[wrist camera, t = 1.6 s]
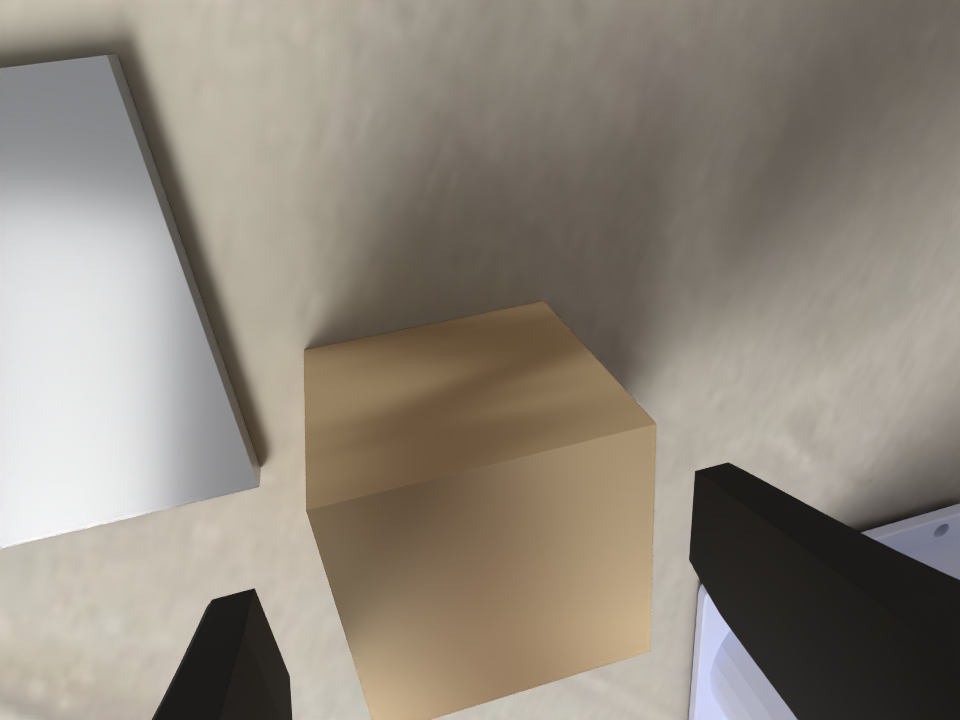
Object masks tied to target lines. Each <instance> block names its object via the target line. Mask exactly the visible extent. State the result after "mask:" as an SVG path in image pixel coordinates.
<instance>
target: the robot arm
mask: <svg viewBox="0 0 960 720" xmlns="http://www.w3.org/2000/svg"><path fill="white" fill-rule="evenodd" d="M689 560H690V562H691V564H692V566H693V568H694V570H695V571H696V573H697V575H698V577H699V579H700V580H701V582H702V585H701V586H700V589H699V592H698V605H697V618H696V631H695V644H694V657H693V670H692V683H691V696H690V709H689V720H960V504H956V505H953V506H949V507H946V508H943V509H939V510H936V511H932V512H929V513H925V514H922V515H919V516H915V517H912V518H908V519H905V520H902V521H898V522H895V523H891V524H888V525H885V526H881V527H878V528H874V529H871V530H868V531H864V532H861V533H860V532H858V531H856V530H855V529H853V528H851V527H849V526H847V525H845V524H843V523H841V522H839V521H837V520H835V519H833V518H832V517H830V516H828V515H826V514H824V513H822V512H820V511H818V510H817V509H815V508H813V507H811V506H809V505H807V504H805V503H804V502H802V501H800V500H798V499H796V498H794V497H792V496H791V495H789V494H787V493H785V492H783V491H781V490H780V489H778V488H776V487H774V486H772V485H770V484H769V483H767V482H765V481H763V480H761V479H759V478H757V477H756V476H754V475H752V474H750V473H748V472H746V471H744V470H742V469H740V468H738V467H736V466H734V465H732V464H730V463H724V464H720V465H717V466H713V467H709V468H705V469H702V470H698V471H695V482H694V497H693V511H692V526H691V541H690V555H689ZM152 720H292V707H291V691H290V676H289V673H288V671H287V668H286V666H285V663H284V661H283V658H282V656H281V653H280V651H279V648H278V646H277V643H276V641H275V638H274V636H273V633H272V631H271V628H270V626H269V623H268V621H267V618H266V616H265V613H264V611H263V608H262V606H261V603H260V601H259V598H258V596H257V593H256V591H255V588H254V589H250V590H247V591H243V592H239V593H235V594H232V595H228V596H224V597H220V598H217V599H213V600H212V601H211V602H210V604H209V605H208V606H207V608H206V610H205V612H204V614H203V616H202V619H201V621H200V623H199V625H198V627H197V629H196V632H195V634H194V636H193V638H192V640H191V642H190V644H189V646H188V649H187V651H186V653H185V655H184V657H183V659H182V661H181V663H180V665H179V667H178V669H177V671H176V673H175V675H174V677H173V679H172V681H171V683H170V685H169V687H168V689H167V691H166V693H165V695H164V697H163V699H162V701H161V703H160V705H159V707H158V709H157V711H156V713H155V714H154V716H153V718H152Z"/></svg>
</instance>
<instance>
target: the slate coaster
mask: <svg viewBox="0 0 960 720" xmlns="http://www.w3.org/2000/svg"><path fill="white" fill-rule="evenodd" d="M260 473H261V469H260V466H259V463H258V460H257V457H256V454H255V451H254V449H253V446H252V443H251V440H250V437H249V434H248V431H247V428H246V425H245V423H244V420H243V417H242V414H241V411H240V408H239V405H238V402H237V399H236V397H235V394H234V391H233V388H232V385H231V382H230V379H229V376H228V373H227V371H226V368H225V365H224V362H223V359H222V356H221V353H220V350H219V347H218V344H217V342H216V339H215V336H214V333H213V330H212V327H211V324H210V321H209V318H208V316H207V313H206V310H205V307H204V304H203V301H202V298H201V295H200V292H199V290H198V287H197V284H196V281H195V278H194V275H193V272H192V269H191V266H190V264H189V261H188V258H187V255H186V252H185V249H184V246H183V243H182V240H181V237H180V235H179V232H178V229H177V226H176V223H175V220H174V217H173V214H172V211H171V209H170V206H169V203H168V200H167V197H166V194H165V191H164V188H163V185H162V183H161V180H160V177H159V174H158V171H157V168H156V165H155V162H154V159H153V157H152V154H151V151H150V148H149V145H148V142H147V139H146V136H145V133H144V130H143V128H142V125H141V122H140V119H139V116H138V113H137V110H136V107H135V104H134V102H133V99H132V96H131V93H130V90H129V87H128V84H127V81H126V78H125V76H124V73H123V70H122V67H121V64H120V61H119V58H118V55H117V54H110V55H102V56H94V57H86V58H78V59H70V60H62V61H54V62H46V63H38V64H30V65H22V66H14V67H6V68H0V549H1V548H5V547H9V546H13V545H17V544H22V543H26V542H30V541H34V540H38V539H43V538H47V537H51V536H55V535H59V534H64V533H68V532H72V531H76V530H80V529H85V528H89V527H93V526H97V525H102V524H106V523H110V522H114V521H118V520H123V519H127V518H131V517H135V516H139V515H144V514H148V513H152V512H156V511H160V510H165V509H169V508H173V507H177V506H181V505H186V504H190V503H194V502H198V501H202V500H207V499H211V498H215V497H219V496H223V495H228V494H232V493H236V492H240V491H244V490H249V489H253V488H257V487H259V484H260Z"/></svg>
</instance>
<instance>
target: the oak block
mask: <svg viewBox="0 0 960 720" xmlns="http://www.w3.org/2000/svg"><path fill="white" fill-rule="evenodd" d="M304 392H305V460H306V511H307V514H308V518H309V521H310V524H311V527H312V530H313V534H314V537H315V540H316V543H317V546H318V549H319V553H320V556H321V559H322V562H323V565H324V569H325V572H326V575H327V578H328V581H329V585H330V588H331V591H332V594H333V597H334V601H335V604H336V607H337V610H338V613H339V616H340V620H341V623H342V626H343V629H344V632H345V636H346V639H347V642H348V645H349V648H350V652H351V655H352V658H353V661H354V664H355V668H356V671H357V674H358V677H359V680H360V684H361V687H362V690H363V693H364V696H365V699H366V703H367V706H368V709H369V712H370V715H371V719H372V720H431V719H434V718H438V717H441V716H444V715H447V714H451V713H454V712H457V711H460V710H463V709H467V708H470V707H473V706H476V705H479V704H483V703H486V702H489V701H492V700H496V699H499V698H502V697H505V696H508V695H512V694H515V693H518V692H521V691H525V690H528V689H531V688H534V687H537V686H541V685H544V684H547V683H550V682H553V681H557V680H560V679H563V678H566V677H570V676H573V675H576V674H579V673H582V672H586V671H589V670H592V669H595V668H599V667H602V666H605V665H608V664H611V663H615V662H618V661H621V660H624V659H628V658H631V657H634V656H637V655H640V654H644V653H647V652H650V642H651V605H652V569H653V533H654V496H655V460H656V423H655V422H654V421H653V419H652V418H651V417H650V416H649V415H648V414H647V413H646V412H645V411H644V410H643V409H642V407H641V406H640V405H639V404H638V403H637V402H636V401H635V400H634V399H633V398H632V397H631V395H630V394H629V393H628V392H627V391H626V390H625V389H624V388H623V387H622V386H621V385H620V383H619V382H618V381H617V380H616V379H615V378H614V377H613V376H612V375H611V374H610V373H609V371H608V370H607V369H606V368H605V367H604V366H603V365H602V364H601V363H600V362H599V361H598V359H597V358H596V357H595V356H594V355H593V354H592V353H591V352H590V351H589V350H588V349H587V347H586V346H585V345H584V344H583V343H582V342H581V341H580V340H579V339H578V338H577V336H576V335H575V334H574V333H573V332H572V331H571V330H570V329H569V328H568V327H567V326H566V324H565V323H564V322H563V321H562V320H561V319H560V318H559V317H558V316H557V315H556V314H555V312H554V311H553V310H552V309H551V308H550V307H549V306H548V305H547V304H546V303H545V302H544V301H540V302H535V303H530V304H526V305H521V306H516V307H511V308H506V309H501V310H496V311H491V312H486V313H482V314H477V315H472V316H467V317H462V318H457V319H452V320H447V321H443V322H438V323H433V324H428V325H423V326H418V327H413V328H408V329H404V330H399V331H394V332H389V333H384V334H379V335H374V336H369V337H365V338H360V339H355V340H350V341H345V342H340V343H335V344H330V345H325V346H321V347H316V348H311V349H306V350H304Z"/></svg>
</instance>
